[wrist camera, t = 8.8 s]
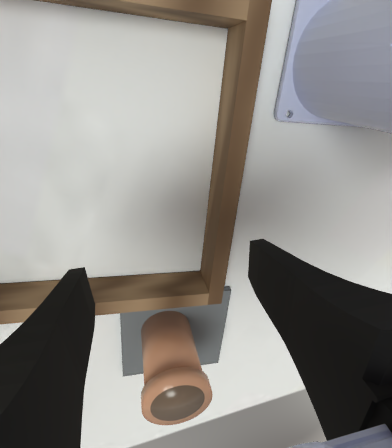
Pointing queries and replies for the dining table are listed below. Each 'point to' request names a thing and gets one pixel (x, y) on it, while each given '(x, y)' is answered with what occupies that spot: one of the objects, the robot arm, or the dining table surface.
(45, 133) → the dining table surface
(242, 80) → the frame
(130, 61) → the dining table surface
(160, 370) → the terracotta pot
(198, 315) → the mat
